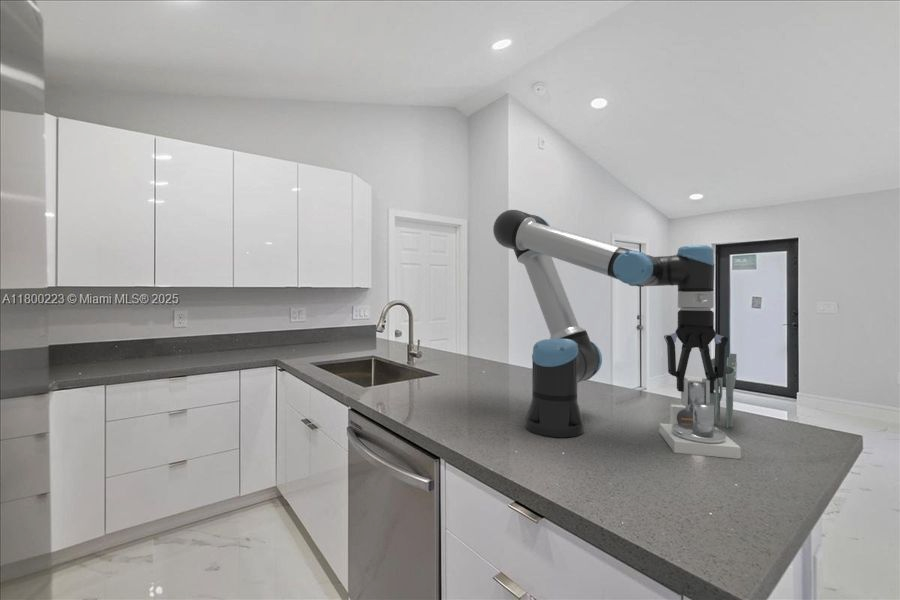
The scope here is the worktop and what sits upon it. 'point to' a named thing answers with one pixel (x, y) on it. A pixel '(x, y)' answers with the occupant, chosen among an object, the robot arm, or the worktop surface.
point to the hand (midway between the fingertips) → (695, 405)
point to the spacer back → (695, 393)
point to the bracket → (730, 385)
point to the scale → (693, 447)
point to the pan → (687, 433)
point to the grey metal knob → (703, 419)
